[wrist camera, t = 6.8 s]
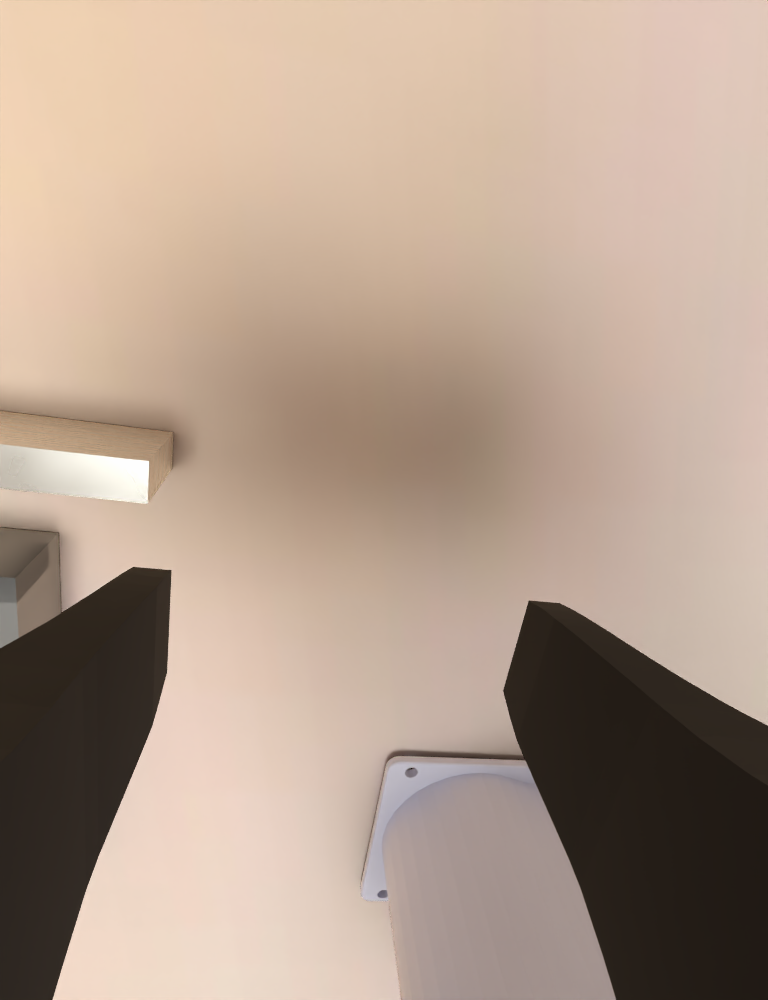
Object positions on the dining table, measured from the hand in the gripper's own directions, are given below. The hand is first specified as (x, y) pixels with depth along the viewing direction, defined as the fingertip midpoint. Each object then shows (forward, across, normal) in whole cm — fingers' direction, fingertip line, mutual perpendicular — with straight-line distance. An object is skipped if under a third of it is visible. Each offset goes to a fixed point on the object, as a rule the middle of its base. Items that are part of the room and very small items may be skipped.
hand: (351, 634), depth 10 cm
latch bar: (+9, +8, 0) cm, 12 cm away
